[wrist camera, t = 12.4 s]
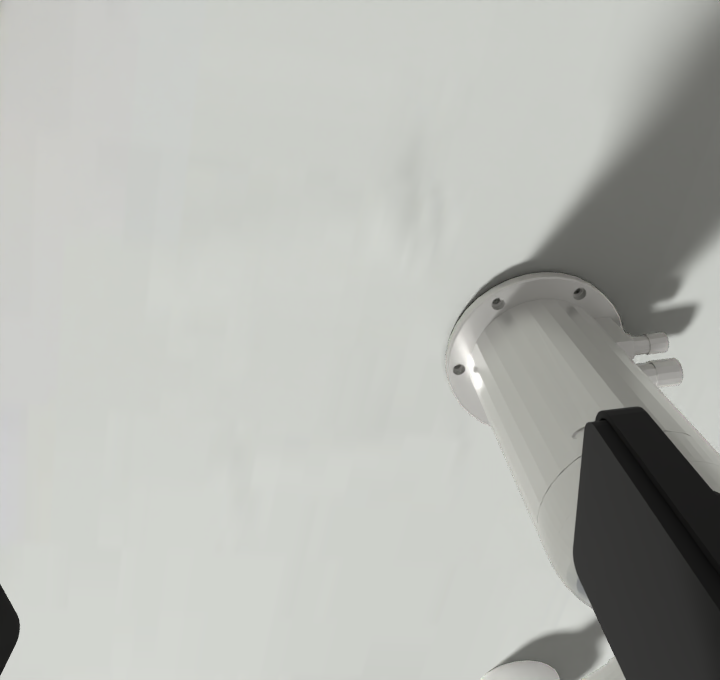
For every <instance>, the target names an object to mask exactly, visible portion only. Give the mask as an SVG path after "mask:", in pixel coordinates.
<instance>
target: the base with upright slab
mask: <svg viewBox="0 0 720 680" xmlns="http://www.w3.org/2000/svg"><path fill="white" fill-rule="evenodd" d="M480 680H560V678H559V675H558V673H557V672H556V670H555V669H554V668H552V667H551V666H549V665H548V664H545V663H542V662H539V661H530V660H526V661H515V662H511V663H506V664H504V665H501V666H499V667H496V668H494V669H493V670H491V671H489V672H488V673H486V674H485V675H484V676H483V677H482V678H481V679H480Z"/></svg>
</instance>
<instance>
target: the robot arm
mask: <svg viewBox="0 0 720 680" xmlns="http://www.w3.org/2000/svg"><path fill="white" fill-rule="evenodd" d="M576 289H577V290H576ZM575 290H576V291H575ZM497 298H498V299H497ZM495 299H497V300H496V301H494V300H495ZM668 348H669V341H668V337H667V335H666V334H665V333H663V332H659V333H651V334H644V335H642V336H635V337H632V336H631V335H630V334H626V333H625V332H624V330H623V327H622V323H621V319H620V316H619V314H618V313H617V311H616V309H615V307H614V306H613V304H612V303H611V302H610V301H609V300H608V299H607V297H606V296H605V295H604V294H603V293H602V292H600V291H599V290H598V289H597V288H596V287H594V286H593V285H592V284H590V283H588V282H586V281H584V280H582V279H580V278H578V277H575V276H571V275H567V274H564V273H553V272H540V273H532V274H525V275H522V276H519V277H515V278H512V279H509V280H507V281H505V282H503V283H501V284H499V285H497V286H495V287H493V288H491V289H490V290H488V291H487V292H486V293H484V294H483V295H481V296H480V297H479V298H477V299H476V300H475V301H474V302H473V303H472V304H471V305H470V306H469V307H468V308H467V309H466V310H465V312H464V313H463V315H462V316H461V318H460V319H459V320H458V322H457V323H456V325H455V327H454V329H453V332H452V334H451V336H450V338H449V342H448V346H447V350H446V367H445V368H446V373H447V378H448V382H449V384H450V387H451V389H452V392H453V395H454V396H455V398H456V399H457V401H458V403H459V404H460V406H461V407H462V408H463V409H464V410H465V411H466V412H467V413H468V414H469V415H471V416H472V417H474V418H475V419H477V420H478V421H480V422H481V423H484V424H486V425H488V426H491V427H492V430H493V432H494V434H495V436H496V439H497V441H498V443H499V446H500V448H501V450H502V453H503V455H504V457H505V460H506V462H507V464H508V466H509V469H510V471H511V473H512V476H513V478H514V480H515V483H516V485H517V487H518V490H519V492H520V494H521V496H522V499H523V501H524V503H525V506H526V508H527V510H528V513H529V515H530V517H531V520H532V522H533V524H534V526H535V529H536V531H537V533H538V536H539V538H540V541H541V543H542V545H543V548H544V550H545V552H546V554H547V557H548V559H549V561H550V563H551V565H552V567H553V568H554V570H555V572H556V574H557V575H558V576H559V578H560V579H561V580H562V582H563V583H564V584H565V586H566V587H567V588H568V589H569V590H570V591H571V592H572V593H573V594H574V595H575V596H576V597H577V598H578V599H579V600H581V601H582V602H583V603H585V604H586V605H588V606H589V607H591V608H592V609H593V610H594V612H595V614H596V617H597V619H598V621H599V623H600V625H601V627H602V629H603V632H604V634H605V636H606V638H607V640H608V642H609V644H610V647H611V649H612V651H613V653H614V655H615V657H613V658H612V659H610V660H609V661H608V663H607V664H605V665H604V666H602V667H601V668H599V669H597V670H596V671H594V672H592V673H591V674H589V675H588V676H586V677H584V678H583V679H581V680H720V454H719V453H718V452H717V451H716V450H715V449H714V448H713V447H712V446H711V445H710V443H709V442H708V441H707V440H706V439H705V438H704V437H703V436H702V435H701V434H700V433H699V432H698V430H697V429H696V428H695V427H694V426H693V425H692V424H691V423H690V422H689V421H688V420H687V419H686V418H685V416H684V415H683V414H682V413H681V412H680V411H679V410H678V409H677V408H676V407H675V406H674V405H673V404H672V402H671V401H670V400H669V399H668V398H667V397H666V396H665V395H664V394H663V393H662V392H661V391H660V389H659V388H661V387H669V386H677V385H680V384H681V383H682V380H683V370H682V366H681V364H680V362H679V361H678V360H677V359H675V358H669V359H661V360H653V361H648V362H646V363H639V364H635V362H634V361H633V360H632V359H633V358H634V356H635V355H640V354H647V355H648V354H656V353H664V352H666V351H668ZM458 364H459V365H458ZM456 365H457V366H456ZM19 630H20V623H19V618H18V615H17V613H16V612H15V610H14V608H13V606H12V604H11V603H10V601H9V599H8V597H7V595H6V594H5V592H4V590H3V588H2V586H1V585H0V675H1V673H2V671H3V669H4V667H5V665H6V663H7V661H8V659H9V657H10V655H11V653H12V651H13V649H14V647H15V645H16V642H17V640H18V636H19Z"/></svg>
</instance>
